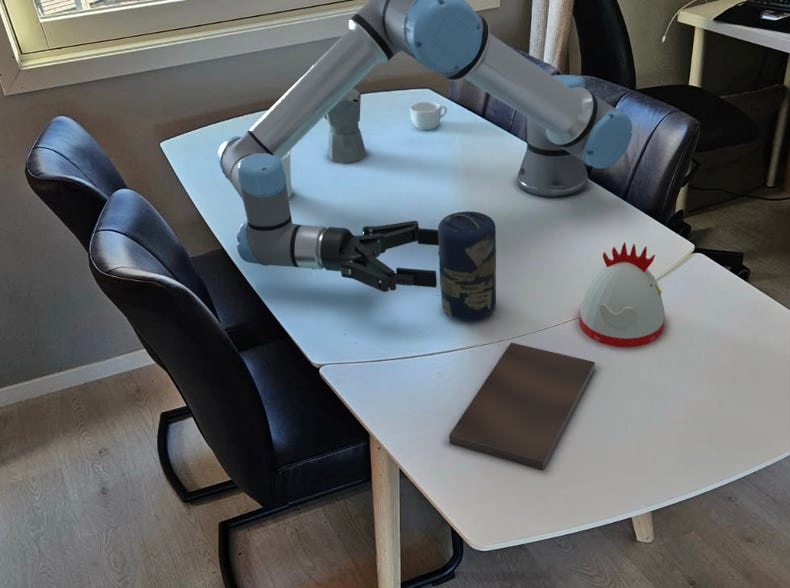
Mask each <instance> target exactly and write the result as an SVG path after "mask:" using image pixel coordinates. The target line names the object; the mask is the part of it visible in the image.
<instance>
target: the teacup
mask: <svg viewBox="0 0 790 588" xmlns="http://www.w3.org/2000/svg"><path fill="white" fill-rule="evenodd" d="M409 108H410V111H409V112H410V119H411V122H412V124H413V126H414V127H416V129H418V130H421V131H430V130H431V131H432V130H433V129H435V128H437V127H438V125H439V124H440V122H441V119H442V118H443V117H445V116H446V115H447V113H448V107H446V106H445V105H441V103H439V102H437V101H432V100H425V101H424V100H423V101H418V102H415V103H412V104H411V105H410V106H409ZM443 109H444V112H443V113H442V110H443Z"/></svg>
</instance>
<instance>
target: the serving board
mask: <svg viewBox="0 0 790 588" xmlns="http://www.w3.org/2000/svg"><path fill="white" fill-rule="evenodd" d="M595 369H596V361H594V360H593V361H592V360H590V359H584V358H580V357H576V356H571V355H567V354H562V353H558V352H554V351H549V350H546V349H541V348H538V347H537V348H536V347H533V346H528V345H524V344H519V343H517V342H516V343H515V342H510V343H509V344H508V346H507V347H506V349H505V351H504V352H503V353H502V355H501V357H500V358H499V360H498V361H497V362H496V364H495V366H494V367H493V369H492V370H491V372H490V373H489V374H488V376H487V378H486V379H485V381H484V382H483V384H481V386H480V388H479V389H478V391H477V392H476V394H475V396H474V397H473V398H472V399H471V401H470V403H469V405H468V406H467V407H466V409H465V410H464V412H463V413H462V415H461V416H460V418H459V419H458V421H457V422H456V424H455V425H454V427H453V428H452V429H451V431H450V433H449V434H448V442H449V444H452V445H455V446H458V447H462V448H466V449H469V450H473V451H475V452H480V453H483V454H487V455H490V456H493V457H496V458H500V459H504V460H507V461H511V462H515V463H518V464H522V465H525V466H529V467H532V468H535V469H538V470H542V471H543V470H544V469H545V467H546V465H547V463H548V461H549V459H550V457H551V455H552V453H553V451H554V449H555V447H556V445H557V443H558V441H559V439H560V438H561V436H562V434H563V432H564V430H565V428H566V427H567V424H568V422H569V420H570V418H571V416H572V414H573V412H574V410H575V408H576V407H577V404H578V402H579V400H580V398H581V397H582V394H583V393H584V391H585V389H586V387H587V386H588V385H587V384H588V383H589V381H590V379H591V377H592V375H593V373H594V371H595Z"/></svg>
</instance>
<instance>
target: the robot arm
mask: <svg viewBox="0 0 790 588" xmlns="http://www.w3.org/2000/svg"><path fill="white" fill-rule="evenodd" d="M490 30H491V29H490V24H489V22H488V20H487V19H486V18H485V17H483V16H482V15H481V14H479V13H478V12H476V11H475V10H474V8H473V7H472V6H471V5H470V4H469V2H468V1H466V0H368V1H367V2H366V3H365V4H364V5H362V7H361V8H360V9H359V10H357V12H356V13H355V14H354V15H352V17H351V18H349V20H348V30H347V31H345V33H344V34H342V35H341V37H340V38H338V39H337V41H335V42H334V44H332V45H331V46H330V48H328V49H327V51H325V53H324V54H323V55H321V57H320V58H319V59H318V60H317V61H316V62H315V63H314V64H313V65H312V66H311V67H310V68H309V69H308V70H307V71H306V72H305V73H304V74H303V75H301V77H300V78H299V79H298V80H297V81H296V82H295V83H294V84H293V85H292V86H291V87H290V88H289V89H287V91H286V92H285V93H284V94H283V95H282V96H281V97H280V98H278V100H277V101H276V102H275V103H274V104H273V105H272V106H271V107H270V108H269V109H268V110H267V111H266V112H265V113H264V114H263V115H262V116H261V117H260V118H259V119H258V120H257V121H256V122H255V123H254V124H253V125H252V126H251V127H250V128H248V130H247V131H246V132H245V133H244V134H243V135H242V136H241V135H240V136H233V137H230V138H227V139H226V140H224V141H223V143H222V144H221V145H220V147H219V149H218V153H217V161H218V164H219V167H220V169H221V172H222V173H223V175H224V177H225V178H226V179H227V180H228V181H229V182H230V184H231V185H232V186H233V189H234V190H235V191H236V192H237V194H238V195H239V197H240V198H241V200H242V202H243V207H244V212H245V216H246V221H244V222H242V223H241V224H240V226H239V228H238V231H237V234H236V239H237V242H236V249H237V253H238V255H239V257H240V258H241V259H242V260H243V261H244V262H246V263H250V264H255V265H256V264H258V265H261V266H265V267H269V266H273V267H274V266H275V267H276V266H277V267H289V268H298V269H299V268H300V269H304V268H305V269H311V270H324V269H325V270H326V271H331V272H340V274H341V277H342V278H346V279H352V280H355V281H357V282H359V283H362V284H364V285H366V286H369V287H371V288H374V289H375V290H378V291H380V292H383V293H387V292H390V291H391V292H392V291H396V290H397V285H398V286H408V287H409V286H410V287H411V286H414V287H425V288H437V286H438V284H437V283H438V282H437V271H436V270H431V269H430V270H429V269H417V268H405V267H396V268H395V270H394V269H392V268H391V267H390V266H388V265H387V264H385V263H384V262H382V261H381V260H380V259H379V256H380V255H381V254H384V253H385V252H386V251H387V250H390V249H393V248H397V247H401V246H405V245H407V244H411V243H415V242H417V244H418V245H426V246H427V245H429V246H439V239H438V229H433V228H432V229H431V228H422V227H421V228H420V225H419V222H418V220H410V221H403V222H396V223H389V224H383V225H376V226H375V225H373V226H371V225H366V226H365V225H364V226H363V227H362V234H361V235H360V234H359V235H354V234H353V233H352V231H351V230H350V229H349V228H347V227H337V226H335V227H334V226H329V227H327V226H325V225H309V224H297V223H293V220H292V213H291V206H290V200H289V198H288V193H287V186H286V175H285V174H284V170H283V166H282V162H281V159H282V158H283V157H284V156H285V155H286V154H287V153H288V152H289V151H292V149H293V148H294V147H295V146H296V145H297V144H298V143H299V142H300V141H301V140H302V139H304V137H305V136H306V135H307V134H308V133H309V132H310V131H311V130H312V129H314V127H315V126H316V125H317V124H318V123H319V122H320V121H321V120H322V119H323V118H325V117H324V116H325V115H326V114H327V113H328V112H329V111H330V110H331V109H332V108H333V107H334V106H335V105H336V104H337V103H338V102H339V101H340V100H341V99H342V98H343V97H344V96H345V95H346V94H347V93H348V92H349V91H350V90H351V89H354V88H355V87H356V86H357V85H358V84H359V83H360V82H361V81H362V80H363V78H365V77H366V76H367V75H368V74H369V73H370V72H371V71H372V70H373V69H374V68H375V67H376V66H377V65H378V64H380V63H381V64H382V63H383V64H384V63H385V64H386V63H388V62H389V61H390V60H392V58H393V57H394V56H396V55H397V54H398V53H400V52H402V53H405V54H406V55H408V56H410V57H411V58H412V59H415V60H416V62H418V63H419V64H420V65H422V66H424V67H425V68H427V69H428V70H430V71H431V70H432V71H433V72H435V73H438V74H439V75H441V77H444V78H446V79H448V80H449V81H451V82H452V81H453V82H457V81H460V80H462V79H463V80H464V79H465V80H466V81H467V82H470V84H473V85H474V86H476V87H477V88H478V89H481V90H482V91H484V92H486V93H488V94H489V95H490V96H492V97H493V98H495V99H497V100H499V101H500V102H501V103H503V104H505V105H506V106H508V107H510V108H512V109H513V110H515V112H516V111H517V112H518V113H520V114H521V115H522V116H524V117H526V122H527V123H526V124H527V125H526V128H527V129H526V151H525V153H524V156H523V159H522V162H521V163H520V168H519V169H518V173H517V184H518V187H520V189H521V190H523V191H524V192H526V193H528V194H530V195H535V196H538V197H546V198H562V197H568V196H573V195H575V194H578V193H580V192H582V191H583V190H584V189H585V188H586V187H587V186H588V178H589V173H588V170H587V168H586V165H587V166H588V167H593V168H595V169H605V168H608V167H610V166H611V165H614V164H616V163H617V162H618V161H619V160H621V158H622V157H623V156H624V154H625V153H626V152H627V150H628V148H629V145H630V144H631V141H632V137H633V134H632V131H633V123H632V121H631V118H630V117H629V115H627V114H626V113H625V112H624V111H623V109H620V108H616V107H615V106H612V105H611V104H609V103H607V102H606V101H604V100H603V99H601V98H600V97H599V96H597V95H595V94H594V93H593V92H591V91H590V90H588V89H587V87H586V86H587V85H586V80H585V78H584V77H582V76H578V75H573V74H555V75H551V74H550V73H548V72H547V71H545V70H544V69H543V68H541V67H540V66H538V65H537V64H535V63H534V62H533V61H531V60H529V59H528V58H526V57H525V56H524V55H522V54H521V53H519V52H518V51H516V50H515V49H513V48H512V47H510V46H509V45H508V44H506V43H505V42H503V41H502V40H500V39H499V38H497V37H496V36H495V35H493V34H492V33H491V31H490Z"/></svg>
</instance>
